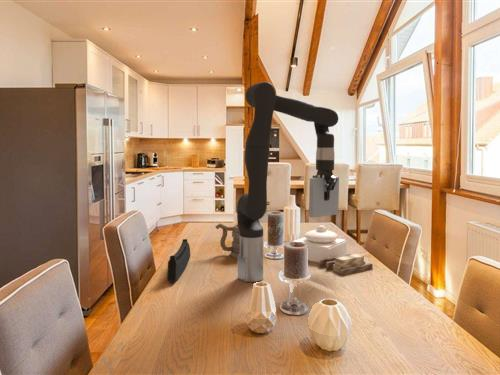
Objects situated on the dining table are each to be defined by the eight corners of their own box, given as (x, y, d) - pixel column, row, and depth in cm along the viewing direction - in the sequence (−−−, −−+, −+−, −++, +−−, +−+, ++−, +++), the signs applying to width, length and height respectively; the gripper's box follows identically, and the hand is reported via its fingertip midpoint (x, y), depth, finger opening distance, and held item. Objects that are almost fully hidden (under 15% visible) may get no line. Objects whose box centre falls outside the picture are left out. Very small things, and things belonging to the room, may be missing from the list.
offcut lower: (339, 273, 168) (340, 266, 167) (333, 270, 171) (333, 264, 171) (365, 267, 175) (365, 261, 175) (358, 265, 178) (358, 259, 178)
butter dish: (328, 268, 180) (329, 231, 178) (292, 260, 191) (292, 225, 189) (346, 258, 194) (347, 224, 192) (312, 252, 205) (312, 220, 203)
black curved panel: (173, 263, 156) (188, 224, 183) (165, 263, 156) (180, 224, 183) (177, 301, 163) (191, 258, 190) (169, 301, 163) (183, 258, 190)
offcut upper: (341, 266, 168) (342, 260, 168) (335, 264, 171) (335, 258, 171) (363, 262, 174) (363, 256, 174) (356, 259, 178) (356, 253, 177)
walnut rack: (340, 279, 165) (340, 268, 164) (317, 269, 177) (317, 259, 176) (373, 271, 174) (373, 261, 173) (348, 263, 186) (349, 253, 185)
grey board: (312, 217, 174) (313, 178, 172) (309, 216, 176) (309, 178, 174) (338, 214, 181) (339, 177, 179) (334, 213, 183) (335, 176, 181)
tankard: (259, 251, 205) (259, 221, 204) (256, 259, 193) (256, 226, 191) (218, 250, 208) (218, 220, 206) (213, 257, 195) (213, 225, 193)
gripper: (307, 158, 180) (306, 198, 182) (329, 159, 168) (328, 202, 170) (321, 157, 183) (320, 197, 185) (343, 159, 172) (342, 201, 174)
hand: (324, 199), depth 178 cm, fingers closed on grey board, 2 cm apart
